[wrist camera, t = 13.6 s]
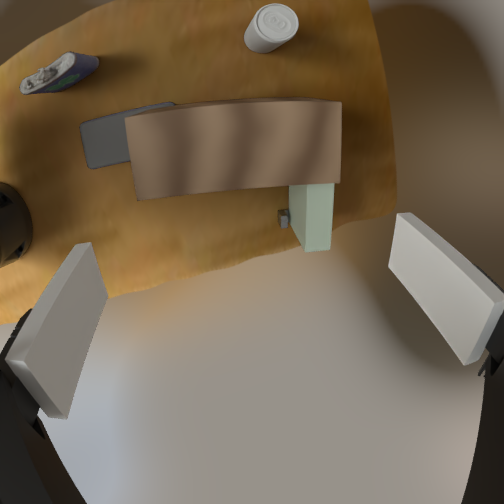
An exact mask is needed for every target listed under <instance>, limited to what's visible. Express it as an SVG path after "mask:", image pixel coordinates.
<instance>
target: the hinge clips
mask: <svg viewBox="0 0 504 504" xmlns="http://www.w3.org/2000/svg"><path fill="white" fill-rule="evenodd" d="M288 222H289V209H286V210H278V223H279V225H280V227H281V228H288Z"/></svg>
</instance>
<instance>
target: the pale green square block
mask: <svg viewBox="0 0 504 504" xmlns="http://www.w3.org/2000/svg"><path fill="white" fill-rule="evenodd" d="M333 200H334V183H328V184H308V185H292V186H289V223H290V225H291V227H292V229H293V230H294V232H295V234H296V236H297V238H298V240H299V242H300V244H301V246H302V247H303V249H304V251H305V252H314V251H324V250H330V245H331V231H332V217H333Z"/></svg>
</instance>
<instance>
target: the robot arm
mask: <svg viewBox="0 0 504 504" xmlns="http://www.w3.org/2000/svg"><path fill="white" fill-rule="evenodd" d="M31 240H32V221H31V217H30V213H29V211H28V208H27V206H26V204H25V202H24V201H23V199H22V198H21V196H20V195H19V194H18V193H17V192H16V191H15V190H14V189H13V188H11V187H10V186H8V185H6V184H4V183H0V268H1V267H3V266H6V265H8V264H10V263H13V262H15V261H17V260H18V259H19V258H20V257H21V256H22V255H23V254H24V253H25V252H26V250H27V249H28V248H29V246H30V243H31ZM388 267H389V268H390V269H391V271H392V272H393V273H394V274H395V275H396V277H397V278H398V279H399V280H400V281H401V283H402V284H403V285H404V286H405V288H406V289H407V290H408V291H409V293H410V294H411V295H412V296H413V297H414V299H415V300H416V301H417V302H418V304H419V305H420V306H421V308H422V309H423V310H424V311H425V313H426V314H427V315H428V317H429V318H430V319H431V321H432V322H433V323H434V325H435V326H436V327H437V329H438V330H439V331H440V333H441V334H442V336H443V337H444V338H445V340H446V341H447V342H448V344H449V345H450V347H451V348H452V349H453V351H454V352H455V353H456V355H457V356H458V358H459V359H460V361H461V362H462V364H463V365H468V364H470V363H472V362H475V361H477V360H479V358H480V356H481V354H482V353H483V351H484V349H485V348H486V349H487V350H488V351H489V355H488V357H487V359H486V360H485V362H484V364H483V365H482V367H481V369H480V371H479V373H478V376H480V375H481V374H482V372H483V371H484V370H485V375H484V377H485V383H484V395H483V403H482V411H481V418H480V425H479V432H478V437H477V443H476V448H475V453H474V457H473V462H472V466H471V470H470V474H469V478H468V483H467V486H466V490H465V493H464V496H463V500H462V503H461V504H504V290H503V289H502V288H501V287H500V286H499V285H498V284H496V282H493V280H492V279H491V278H490V277H489V276H487V274H486V273H485V272H484V271H483V270H482V269H480V268H479V267H478V266H476V265H474V264H473V263H471V262H470V261H469V260H467V259H466V258H465V257H464V256H463V255H462V254H461V253H459V252H458V251H457V250H456V249H455V248H453V246H451V245H450V244H449V243H448V242H447V241H445V240H444V239H443V238H442V237H441V236H439V235H438V234H437V233H436V232H435V231H433V230H432V229H431V228H430V227H428V226H427V225H426V224H425V223H423V222H422V221H421V220H420V219H418V218H417V217H416V216H415V215H413V214H412V213H397V217H396V224H395V231H394V237H393V243H392V249H391V255H390V260H389V265H388ZM107 298H108V294H107V291H106V288H105V285H104V282H103V279H102V276H101V273H100V270H99V267H98V263H97V260H96V257H95V254H94V250H93V247H92V244H91V242H89V243H82V244H76V245H75V246H74V247H73V249H72V250H71V252H70V253H69V254H68V256H67V257H66V259H65V260H64V262H63V263H62V264H61V266H60V267H59V269H58V270H57V272H56V273H55V275H54V276H53V278H52V279H51V281H50V282H49V284H48V285H47V287H46V288H45V290H44V292H43V293H42V295H41V296H40V298H39V300H38V301H37V303H36V304H35V306H34V308H33V309H29V310H28V311H27V312H26V313H25V314H24V315H23V316H22V317H21V318H20V320H19V322H18V323H17V325H16V327H15V330H13V332H12V334H11V338H9V339H8V341H7V343H6V344H5V346H4V348H3V350H2V352H1V354H0V504H87V503H86V502H85V500H84V498H83V497H82V495H81V494H80V492H79V491H78V489H77V487H76V486H75V484H74V482H73V481H72V479H71V477H70V476H69V474H68V472H67V470H66V469H65V467H64V465H63V463H62V461H61V460H60V458H59V456H58V454H57V452H56V450H55V448H54V446H53V444H52V442H51V440H50V438H49V436H48V434H47V431H46V429H45V427H44V425H43V423H42V421H41V420H40V418H39V417H38V416H37V414H38V411H39V408H41V409H42V410H43V411H44V412H45V414H46V415H47V416H48V417H51V418H58V419H67V418H68V414H69V411H70V407H71V404H72V400H73V397H74V393H75V390H76V387H77V383H78V380H79V377H80V374H81V370H82V367H83V364H84V361H85V358H86V355H87V352H88V349H89V347H90V343H91V341H92V338H93V335H94V332H95V330H96V327H97V324H98V322H99V319H100V316H101V314H102V311H103V308H104V306H105V303H106V301H107Z"/></svg>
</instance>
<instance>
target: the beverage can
mask: <svg viewBox="0 0 504 504" xmlns="http://www.w3.org/2000/svg"><path fill="white" fill-rule="evenodd" d="M298 25H299V23H298V18H297V15H296V14H295V13H294V11H293V10H292V9H290V8H289V7H287V6H285V5H282V4H269V5H266V6H264V7H262V8H261V9H259V10H258V11H257V13H256V14H255V16H254V18H253V19H252V21H251V23H250V24H249V26H248V28H247V30H246V32H245V34H244V41H245V44H246V45H247V47H248V48H249V49H250V50H252V51H254V52H257V53H268V52H271V51H272V50H274V49H276V48H277V47H279V46H280V45H282V44H284V43H285V42H287V41H288V40H290V39H291V38H292V37H293V36H294V35H295V34H296V32H297V30H298Z"/></svg>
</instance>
